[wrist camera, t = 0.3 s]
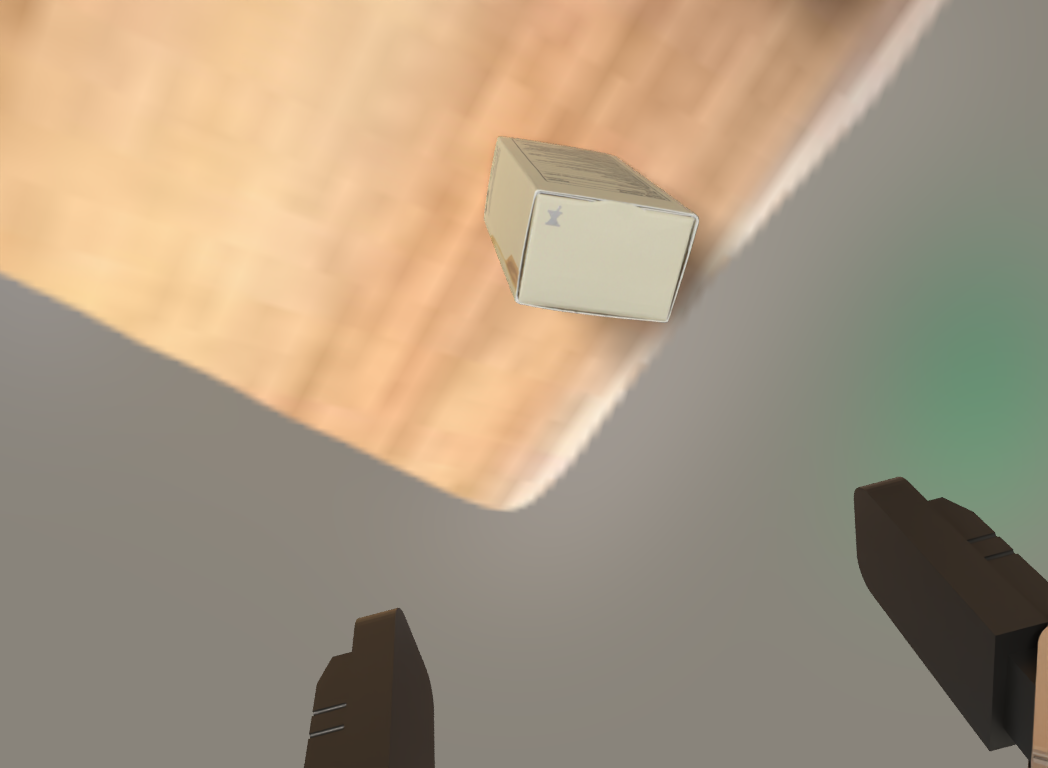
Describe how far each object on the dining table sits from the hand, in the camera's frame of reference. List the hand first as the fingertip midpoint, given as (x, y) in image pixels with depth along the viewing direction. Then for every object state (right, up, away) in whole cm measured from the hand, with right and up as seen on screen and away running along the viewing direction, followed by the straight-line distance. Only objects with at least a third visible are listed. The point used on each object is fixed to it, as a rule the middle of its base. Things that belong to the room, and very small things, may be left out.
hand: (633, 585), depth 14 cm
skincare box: (0, +13, +26) cm, 29 cm away
